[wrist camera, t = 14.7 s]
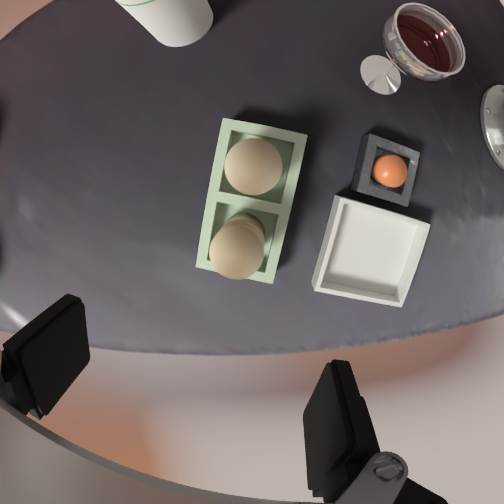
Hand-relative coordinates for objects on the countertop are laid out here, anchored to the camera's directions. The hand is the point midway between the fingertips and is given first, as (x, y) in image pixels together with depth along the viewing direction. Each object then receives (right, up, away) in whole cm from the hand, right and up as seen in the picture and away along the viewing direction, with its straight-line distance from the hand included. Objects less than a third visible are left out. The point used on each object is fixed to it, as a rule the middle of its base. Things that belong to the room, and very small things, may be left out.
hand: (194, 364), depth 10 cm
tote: (+15, +4, +21) cm, 26 cm away
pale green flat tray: (+2, +10, +20) cm, 22 cm away
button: (+16, +13, +18) cm, 27 cm away
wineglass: (+16, +24, +15) cm, 32 cm away
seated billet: (+3, +13, +18) cm, 22 cm away
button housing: (+16, +13, +18) cm, 27 cm away
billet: (+1, +6, +20) cm, 21 cm away
